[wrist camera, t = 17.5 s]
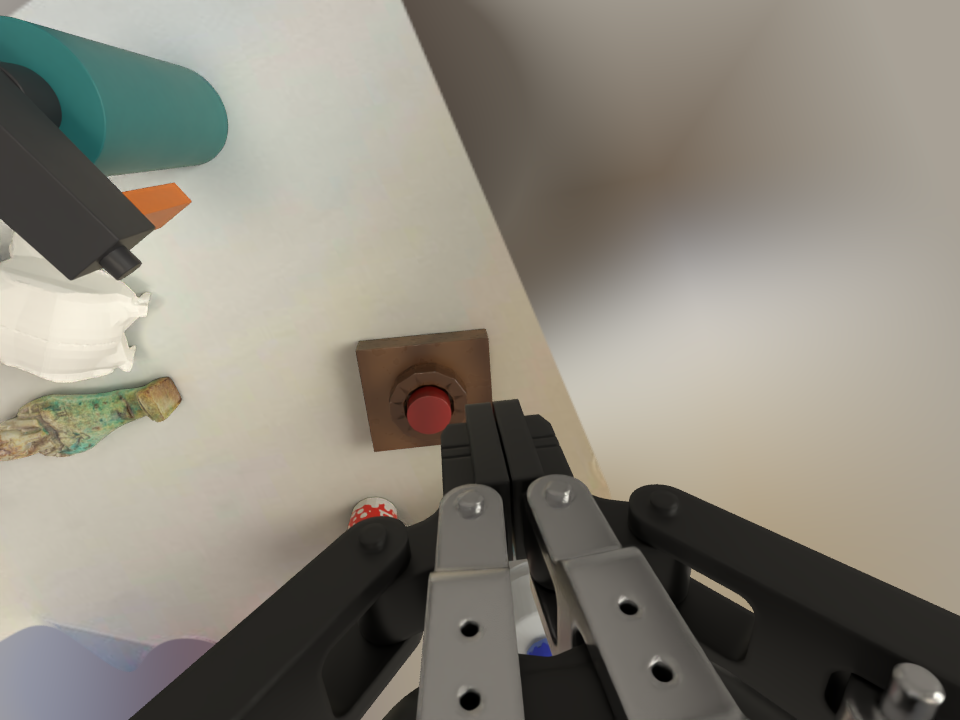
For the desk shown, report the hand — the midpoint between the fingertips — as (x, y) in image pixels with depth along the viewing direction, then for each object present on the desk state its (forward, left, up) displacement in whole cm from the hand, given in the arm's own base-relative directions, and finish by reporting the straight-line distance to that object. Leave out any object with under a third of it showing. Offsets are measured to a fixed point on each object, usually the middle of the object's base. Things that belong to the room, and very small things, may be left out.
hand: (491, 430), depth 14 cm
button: (+3, +13, -25) cm, 29 cm away
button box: (+3, +13, -29) cm, 32 cm away
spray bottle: (+17, -8, -29) cm, 34 cm away
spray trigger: (+15, -5, -17) cm, 24 cm away
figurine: (+32, +12, -29) cm, 45 cm away
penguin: (+31, +2, -29) cm, 42 cm away
